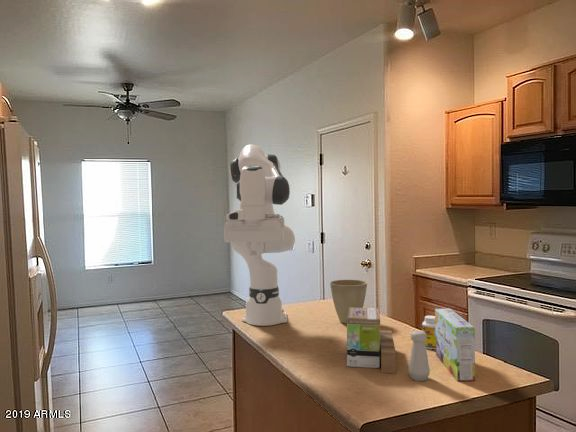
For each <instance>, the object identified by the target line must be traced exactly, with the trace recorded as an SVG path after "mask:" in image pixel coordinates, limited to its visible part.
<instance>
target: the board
mask: <svg viewBox="0 0 576 432" xmlns="http://www.w3.org/2000/svg"><path fill="white" fill-rule="evenodd" d="M396 351H397V350H396V347H395V342H394V338H393V332H392V330H382V329H380V369H381V374H396V373H397V357H396V356H397V352H396Z"/></svg>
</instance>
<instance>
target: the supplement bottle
mask: <svg viewBox="0 0 576 432" xmlns="http://www.w3.org/2000/svg"><path fill="white" fill-rule="evenodd" d="M421 328H422V329H421V331H423V332H425V333H426V334H427V341H425V346H426V350H432V349H434V350H436V333H435V315H425V316H424V320H423V321H422V323H421Z"/></svg>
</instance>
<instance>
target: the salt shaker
mask: <svg viewBox="0 0 576 432" xmlns="http://www.w3.org/2000/svg"><path fill="white" fill-rule="evenodd" d="M410 339H411V341H412V346H411V352H410V357H409V363H408V366H407V367H408V368H407V371H408V374H409V377H410V379H412V380H413V381H416V382H425V381H427V380H428V379H429V376H430V375H431V374H430V373H431V370H430V365H429V359H428V354H427V349H426V346H425V341H427V334H426V333H425V332H423V331H422V330H414V331H411V333H410Z"/></svg>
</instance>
